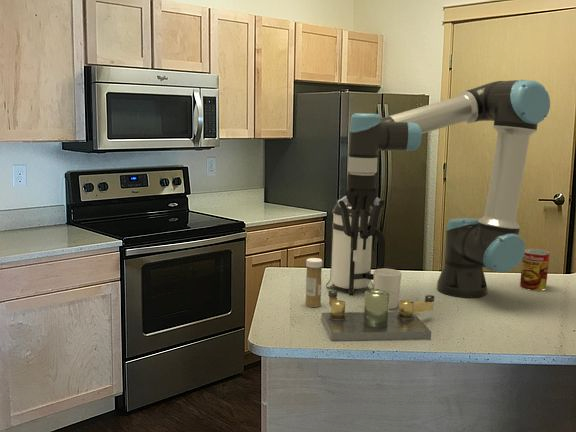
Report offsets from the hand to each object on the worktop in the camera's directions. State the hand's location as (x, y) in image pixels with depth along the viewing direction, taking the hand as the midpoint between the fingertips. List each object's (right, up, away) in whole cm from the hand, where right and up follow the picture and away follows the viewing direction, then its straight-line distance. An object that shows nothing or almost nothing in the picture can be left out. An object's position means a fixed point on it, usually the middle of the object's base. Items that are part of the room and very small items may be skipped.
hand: (357, 261), depth 168 cm
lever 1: (-6, -13, 0) cm, 15 cm away
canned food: (+61, -11, +36) cm, 71 cm away
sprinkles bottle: (-11, -13, +13) cm, 22 cm away
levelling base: (+4, -17, -6) cm, 18 cm away
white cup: (+10, -14, +14) cm, 22 cm away
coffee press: (+2, -11, +29) cm, 31 cm away
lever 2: (+16, -14, 0) cm, 21 cm away
